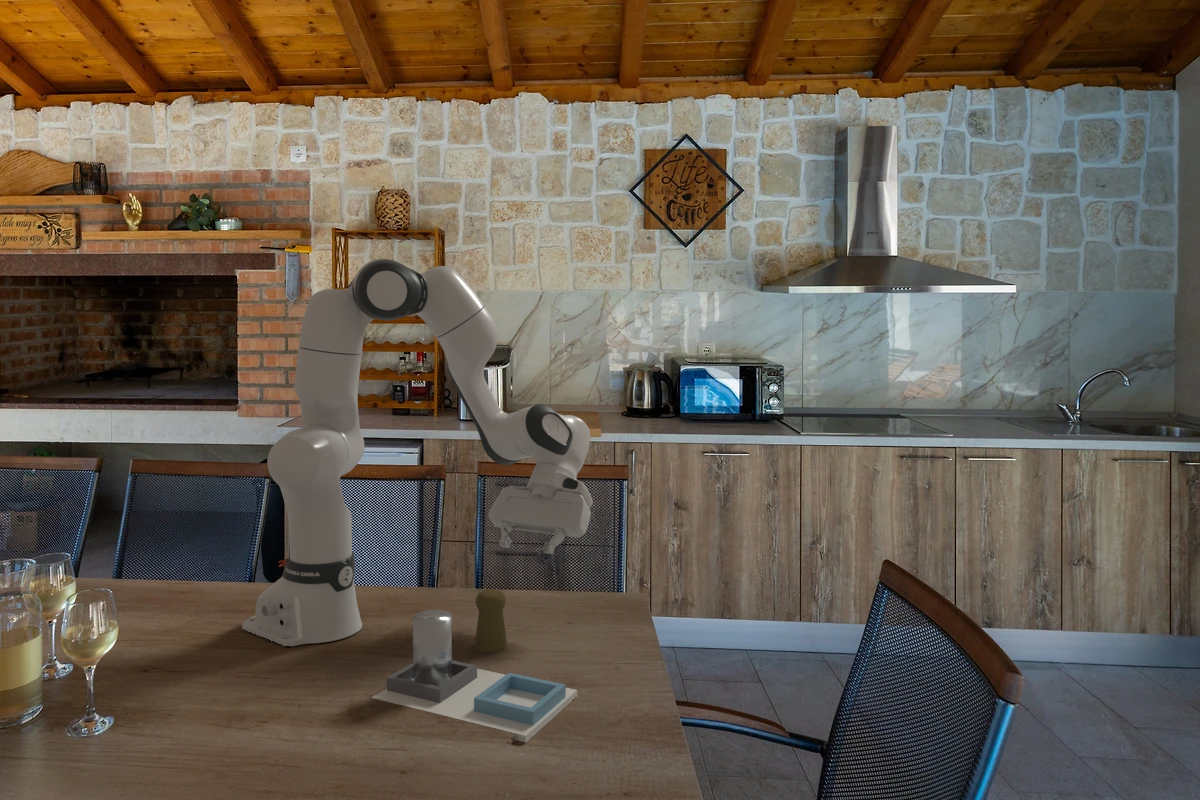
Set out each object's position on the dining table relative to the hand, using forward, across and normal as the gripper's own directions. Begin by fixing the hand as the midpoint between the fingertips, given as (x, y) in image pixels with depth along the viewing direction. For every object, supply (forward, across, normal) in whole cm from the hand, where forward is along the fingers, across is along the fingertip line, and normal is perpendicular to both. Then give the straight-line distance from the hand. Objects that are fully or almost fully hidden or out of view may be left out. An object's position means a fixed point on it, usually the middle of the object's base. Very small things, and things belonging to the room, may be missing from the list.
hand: (525, 549), depth 156 cm
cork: (+20, 0, +3) cm, 20 cm away
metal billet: (+31, 0, -10) cm, 33 cm away
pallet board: (+32, +8, -10) cm, 34 cm away
